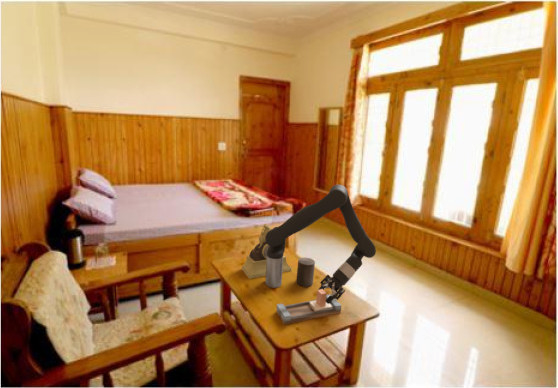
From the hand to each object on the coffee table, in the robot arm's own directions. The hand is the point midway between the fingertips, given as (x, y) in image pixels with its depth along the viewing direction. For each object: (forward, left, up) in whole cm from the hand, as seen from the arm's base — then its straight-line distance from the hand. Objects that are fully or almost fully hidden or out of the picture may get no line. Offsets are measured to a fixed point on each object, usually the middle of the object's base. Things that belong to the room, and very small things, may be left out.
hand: (322, 297), depth 144 cm
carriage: (0, 0, -5) cm, 5 cm away
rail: (0, -7, -7) cm, 10 cm away
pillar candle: (-26, +4, -7) cm, 27 cm away
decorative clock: (-47, -12, -7) cm, 49 cm away
